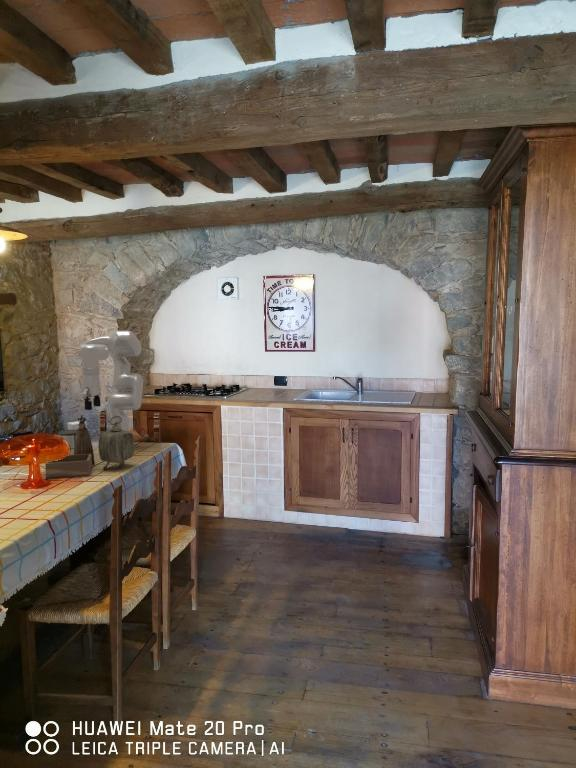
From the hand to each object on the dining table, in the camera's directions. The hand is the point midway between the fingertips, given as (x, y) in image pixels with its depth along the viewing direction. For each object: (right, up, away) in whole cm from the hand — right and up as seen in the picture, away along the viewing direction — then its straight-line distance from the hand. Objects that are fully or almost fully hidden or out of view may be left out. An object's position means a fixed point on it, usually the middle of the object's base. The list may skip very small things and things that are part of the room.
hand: (92, 408), depth 246 cm
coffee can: (-19, -27, +20) cm, 39 cm away
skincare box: (-22, -25, +38) cm, 51 cm away
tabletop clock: (+11, -29, +3) cm, 31 cm away
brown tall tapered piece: (-7, -28, +7) cm, 30 cm away
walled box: (-8, -30, -7) cm, 32 cm away
